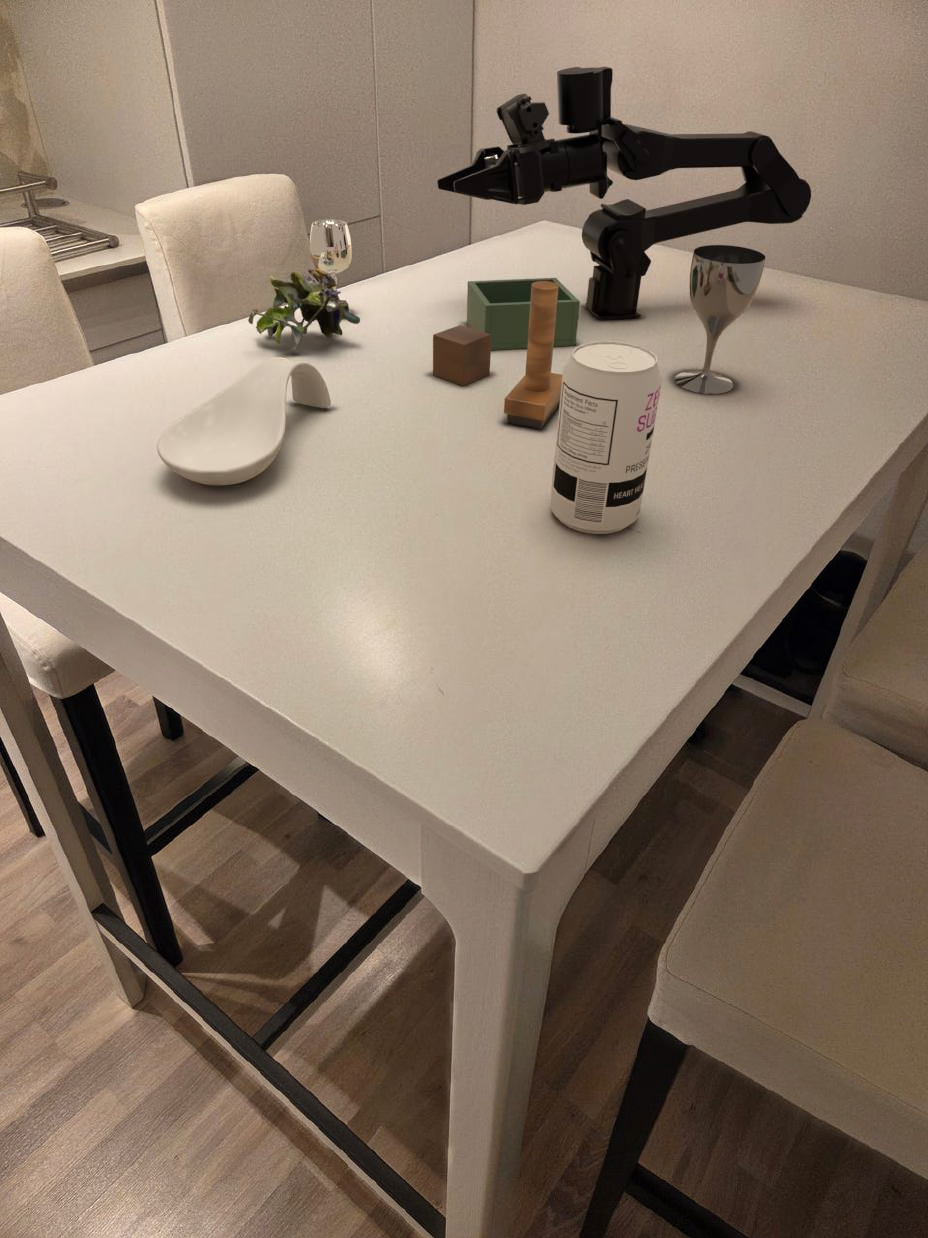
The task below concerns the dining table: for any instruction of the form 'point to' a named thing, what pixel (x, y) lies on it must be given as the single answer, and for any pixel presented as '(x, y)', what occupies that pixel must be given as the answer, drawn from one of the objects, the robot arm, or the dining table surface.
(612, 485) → the supplement can
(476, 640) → the dining table surface
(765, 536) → the dining table surface
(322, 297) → the passion flower
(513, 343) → the bin
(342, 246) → the wineglass
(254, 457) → the spoon rest
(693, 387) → the wine glass
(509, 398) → the stamp
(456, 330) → the block
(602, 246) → the robot arm
